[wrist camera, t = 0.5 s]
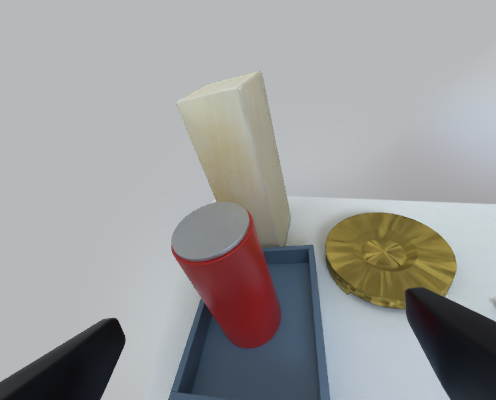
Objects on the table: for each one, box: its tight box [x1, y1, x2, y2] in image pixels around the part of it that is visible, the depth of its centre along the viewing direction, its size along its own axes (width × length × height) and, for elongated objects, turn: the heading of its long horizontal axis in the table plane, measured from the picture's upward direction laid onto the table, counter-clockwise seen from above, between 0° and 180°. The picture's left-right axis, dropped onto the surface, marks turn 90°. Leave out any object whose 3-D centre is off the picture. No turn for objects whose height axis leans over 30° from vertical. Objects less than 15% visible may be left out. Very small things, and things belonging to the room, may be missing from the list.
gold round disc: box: [326, 213, 456, 309], centre depth 26 cm, size 12×12×2 cm
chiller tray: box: [168, 245, 330, 400], centre depth 23 cm, size 15×12×3 cm
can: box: [171, 202, 281, 348], centre depth 21 cm, size 6×6×13 cm
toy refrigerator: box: [177, 71, 291, 248], centre depth 29 cm, size 8×7×21 cm
